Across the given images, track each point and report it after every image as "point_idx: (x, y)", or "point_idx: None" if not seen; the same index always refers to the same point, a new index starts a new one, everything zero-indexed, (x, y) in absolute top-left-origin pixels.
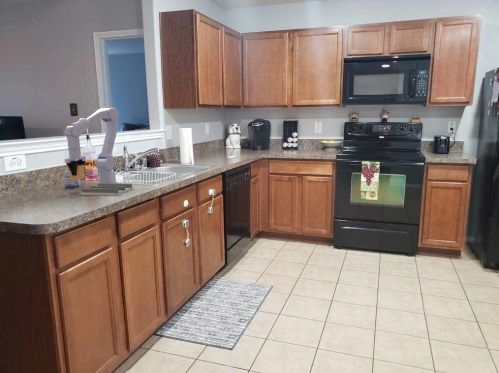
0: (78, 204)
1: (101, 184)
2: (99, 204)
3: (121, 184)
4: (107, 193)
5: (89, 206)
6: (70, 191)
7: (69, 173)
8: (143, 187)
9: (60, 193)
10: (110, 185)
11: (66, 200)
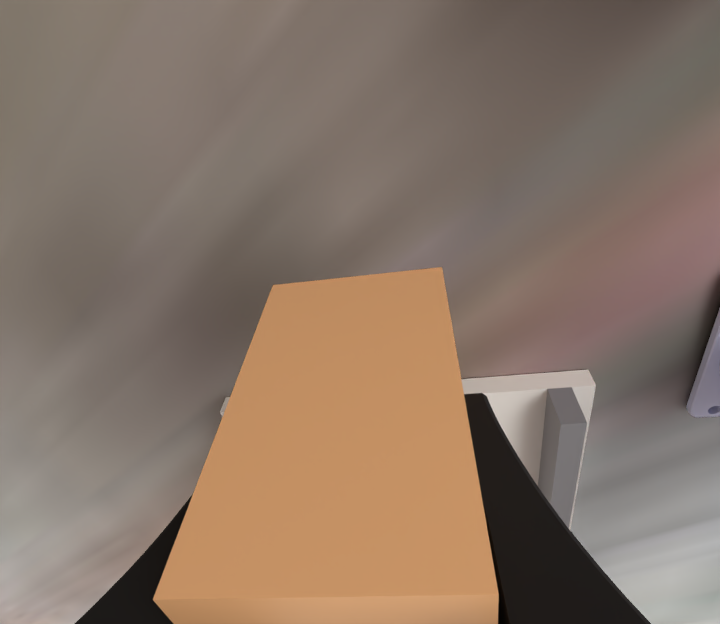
0: (9, 544)
1: (553, 455)
2: (90, 607)
3: None
4: None
5: (29, 595)
6: (324, 153)
7: (240, 374)
8: None
9: (154, 118)
10: None
11: (5, 432)
